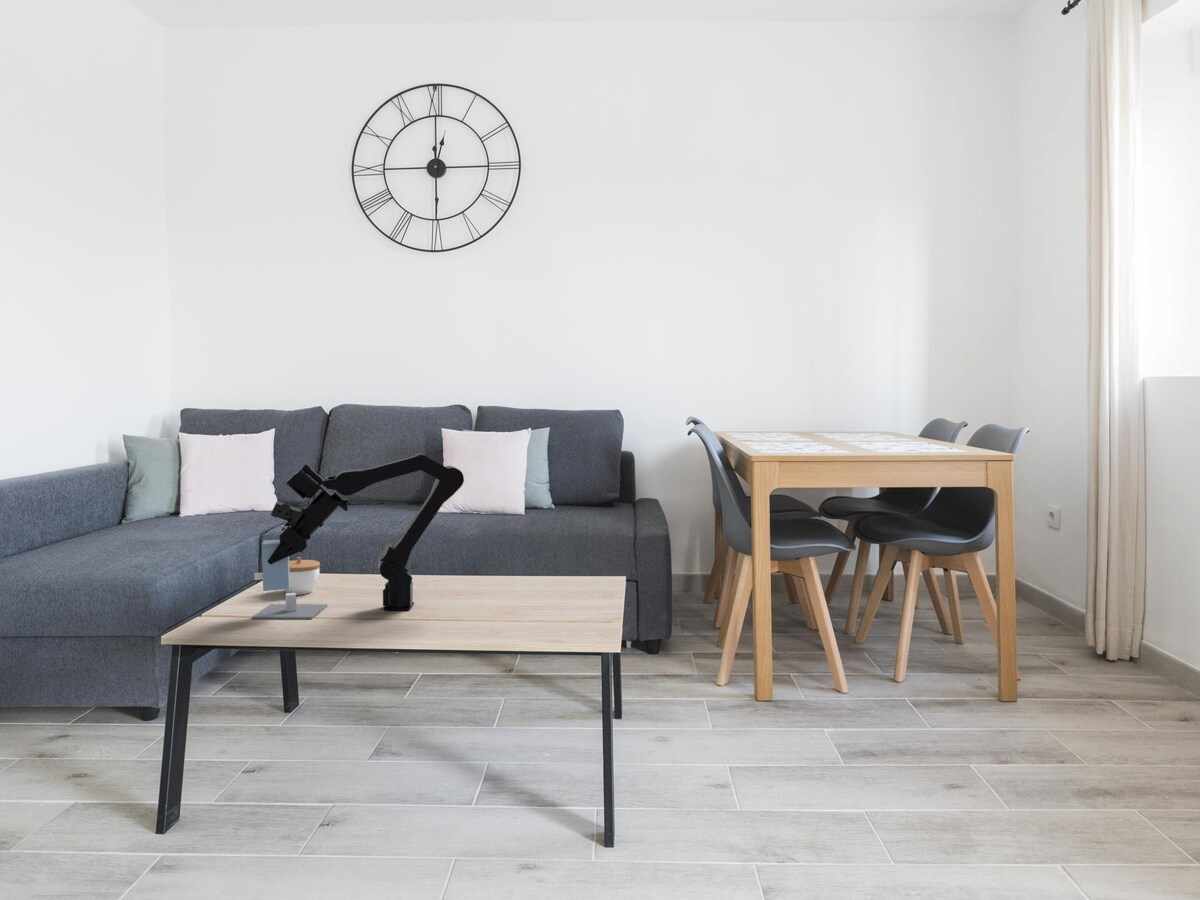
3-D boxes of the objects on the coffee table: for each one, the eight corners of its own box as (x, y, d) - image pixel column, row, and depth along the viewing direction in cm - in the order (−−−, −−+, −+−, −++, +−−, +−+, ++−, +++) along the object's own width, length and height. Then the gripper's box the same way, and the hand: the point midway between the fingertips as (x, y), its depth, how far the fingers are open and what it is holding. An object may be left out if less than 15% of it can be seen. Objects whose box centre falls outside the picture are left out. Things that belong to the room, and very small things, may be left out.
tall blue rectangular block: (290, 583, 195) (288, 539, 194) (288, 589, 190) (287, 543, 189) (256, 586, 193) (254, 541, 192) (254, 591, 187) (252, 545, 187)
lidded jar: (306, 598, 209) (305, 562, 209) (269, 595, 212) (268, 560, 211) (327, 588, 220) (327, 554, 219) (292, 586, 222) (292, 552, 222)
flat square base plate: (327, 606, 201) (327, 588, 201) (312, 619, 189) (312, 600, 189) (270, 606, 201) (270, 588, 200) (252, 618, 189) (251, 600, 188)
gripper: (293, 485, 200) (247, 532, 197) (289, 494, 182) (238, 545, 180) (327, 515, 203) (282, 561, 200) (327, 526, 185) (277, 577, 183)
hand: (269, 560), depth 191 cm, fingers closed on tall blue rectangular block, 6 cm apart
